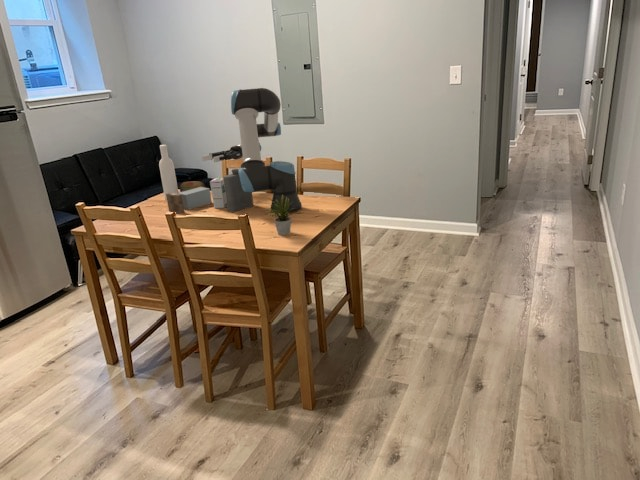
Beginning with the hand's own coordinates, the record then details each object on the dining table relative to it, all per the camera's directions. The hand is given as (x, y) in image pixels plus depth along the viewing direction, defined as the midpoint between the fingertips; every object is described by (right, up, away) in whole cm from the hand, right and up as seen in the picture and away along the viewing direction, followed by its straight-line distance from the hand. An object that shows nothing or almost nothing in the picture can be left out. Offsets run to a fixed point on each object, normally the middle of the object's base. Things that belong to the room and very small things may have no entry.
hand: (208, 159), depth 269 cm
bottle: (-24, -20, +17) cm, 35 cm away
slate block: (-6, -25, -2) cm, 26 cm away
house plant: (+44, -40, -56) cm, 82 cm away
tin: (-12, -18, +18) cm, 29 cm away
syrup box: (+9, -26, -9) cm, 29 cm away
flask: (+19, -27, -14) cm, 37 cm away
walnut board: (-14, -28, -11) cm, 34 cm away
